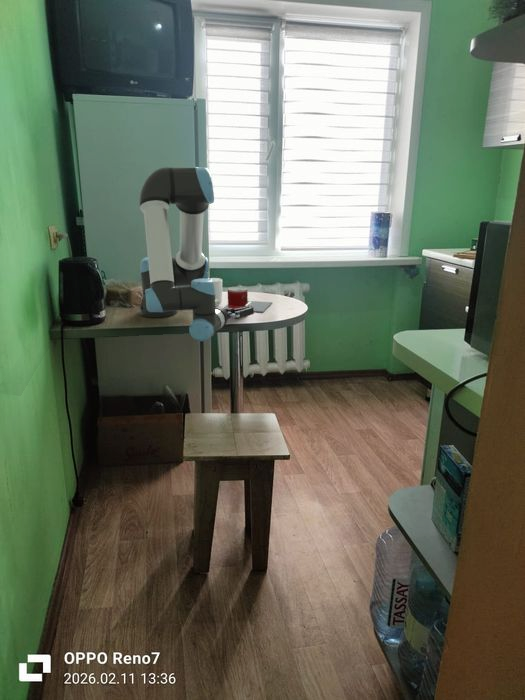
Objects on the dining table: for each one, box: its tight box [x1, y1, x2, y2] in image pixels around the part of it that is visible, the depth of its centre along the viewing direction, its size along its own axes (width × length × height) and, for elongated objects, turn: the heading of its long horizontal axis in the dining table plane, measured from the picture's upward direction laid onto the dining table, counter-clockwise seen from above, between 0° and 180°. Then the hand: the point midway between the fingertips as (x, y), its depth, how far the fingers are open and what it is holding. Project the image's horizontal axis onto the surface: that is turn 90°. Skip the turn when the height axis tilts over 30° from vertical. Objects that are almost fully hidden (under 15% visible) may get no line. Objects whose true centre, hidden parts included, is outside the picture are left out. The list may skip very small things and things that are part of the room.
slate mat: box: [223, 300, 273, 314], centre depth 212 cm, size 18×16×1 cm
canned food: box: [227, 286, 249, 318], centre depth 198 cm, size 8×8×11 cm
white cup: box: [208, 277, 223, 304], centre depth 219 cm, size 8×8×10 cm
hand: (233, 304), depth 191 cm, fingers open, 13 cm apart
